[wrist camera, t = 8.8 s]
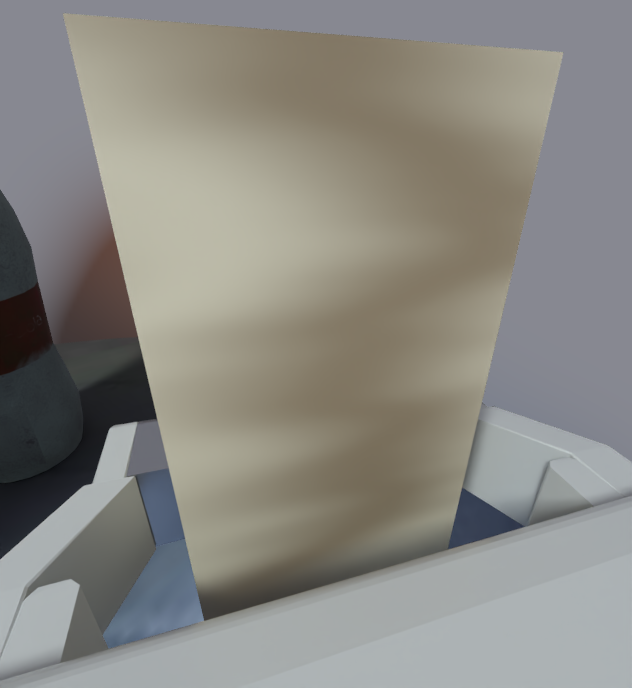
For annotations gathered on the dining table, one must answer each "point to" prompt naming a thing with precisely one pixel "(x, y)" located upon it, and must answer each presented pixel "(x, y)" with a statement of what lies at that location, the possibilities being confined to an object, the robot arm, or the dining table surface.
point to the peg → (312, 277)
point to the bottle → (30, 368)
